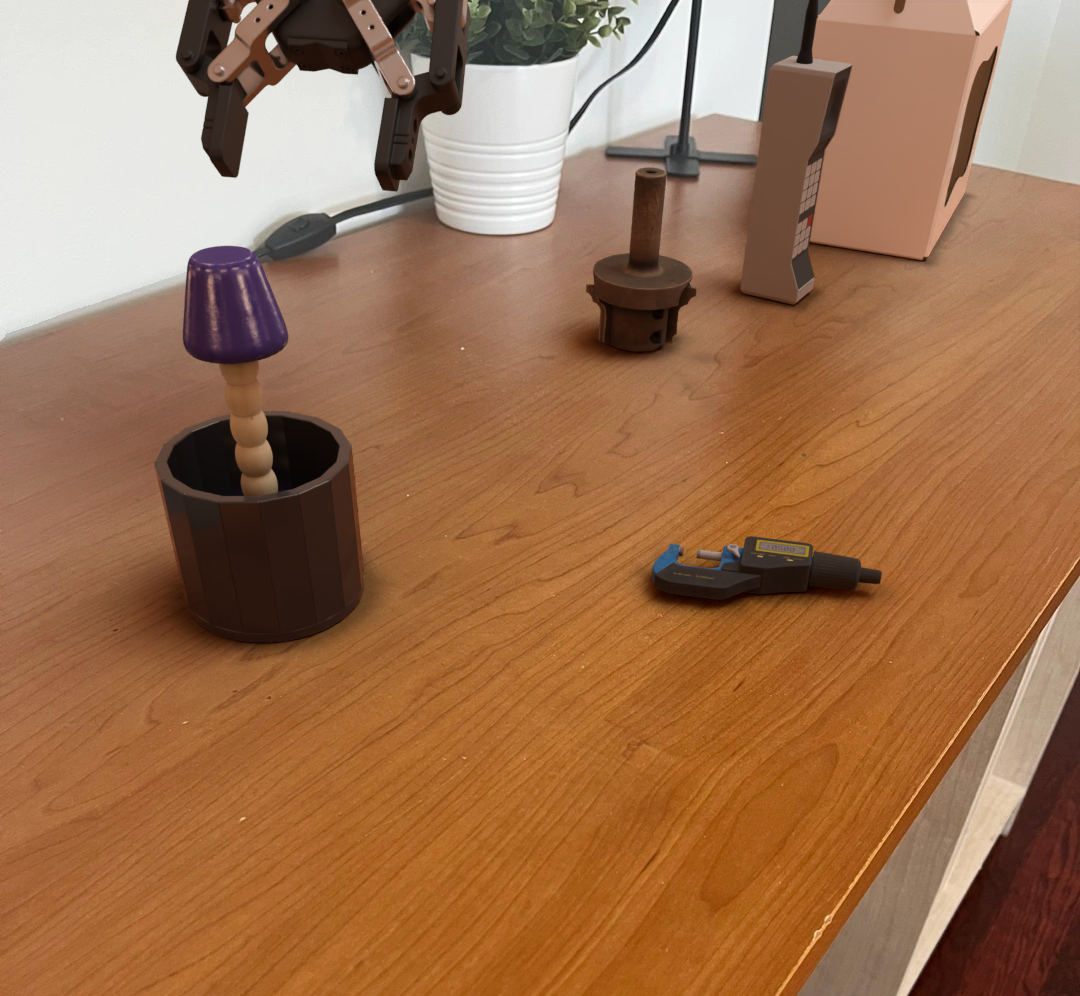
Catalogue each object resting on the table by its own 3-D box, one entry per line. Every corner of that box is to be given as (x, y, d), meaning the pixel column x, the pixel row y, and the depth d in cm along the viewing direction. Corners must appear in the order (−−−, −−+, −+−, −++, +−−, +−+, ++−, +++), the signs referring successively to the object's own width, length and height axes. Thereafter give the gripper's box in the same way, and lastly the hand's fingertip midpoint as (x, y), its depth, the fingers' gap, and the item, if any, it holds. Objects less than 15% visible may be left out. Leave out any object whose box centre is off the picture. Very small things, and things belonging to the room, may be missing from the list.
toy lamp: (212, 577, 59) (145, 253, 49) (285, 544, 62) (237, 229, 51) (265, 616, 57) (207, 283, 46) (339, 580, 60) (301, 256, 49)
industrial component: (573, 351, 84) (580, 178, 76) (600, 316, 89) (609, 151, 81) (697, 371, 82) (718, 195, 74) (718, 333, 87) (739, 165, 79)
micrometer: (649, 569, 59) (664, 521, 62) (646, 600, 60) (661, 550, 64) (883, 601, 57) (884, 549, 60) (875, 631, 58) (877, 579, 62)
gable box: (925, 262, 99) (1020, -135, 81) (779, 239, 103) (838, -145, 85) (964, 194, 115) (1051, -153, 96) (836, 176, 119) (896, -161, 100)
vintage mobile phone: (795, 306, 91) (858, -69, 75) (739, 293, 93) (788, -76, 77) (812, 292, 94) (877, -75, 77) (757, 279, 96) (808, -81, 79)
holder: (150, 618, 58) (115, 479, 52) (246, 530, 64) (223, 398, 59) (310, 660, 55) (289, 518, 50) (393, 564, 62) (382, 429, 57)
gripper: (190, -200, 55) (134, 121, 54) (478, -189, 53) (425, 143, 52) (248, -79, 62) (200, 204, 61) (501, -66, 60) (456, 226, 59)
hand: (303, 176), depth 56 cm, fingers open, 8 cm apart
